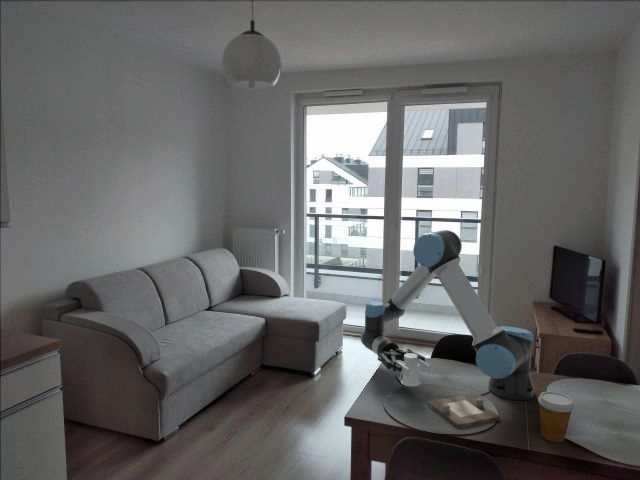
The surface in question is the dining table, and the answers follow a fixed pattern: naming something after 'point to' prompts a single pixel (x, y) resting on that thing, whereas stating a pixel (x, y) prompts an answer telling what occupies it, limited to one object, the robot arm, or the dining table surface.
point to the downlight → (411, 370)
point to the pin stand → (464, 411)
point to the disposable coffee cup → (554, 415)
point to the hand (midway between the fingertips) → (418, 371)
